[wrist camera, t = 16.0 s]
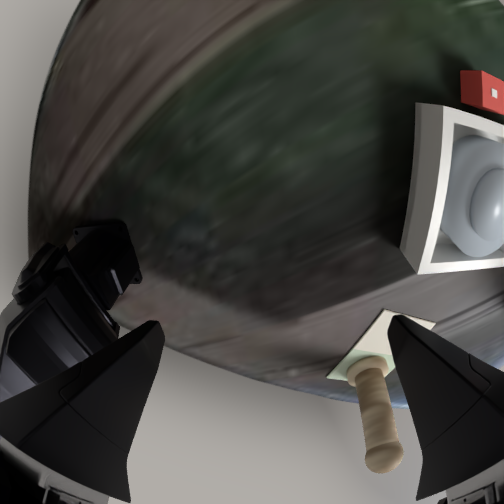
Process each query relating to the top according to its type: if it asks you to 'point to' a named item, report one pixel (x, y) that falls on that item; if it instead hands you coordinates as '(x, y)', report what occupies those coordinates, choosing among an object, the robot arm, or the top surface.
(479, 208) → the dome button
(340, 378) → the game track
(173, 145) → the top surface
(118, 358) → the robot arm
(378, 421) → the beech pawn
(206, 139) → the top surface
